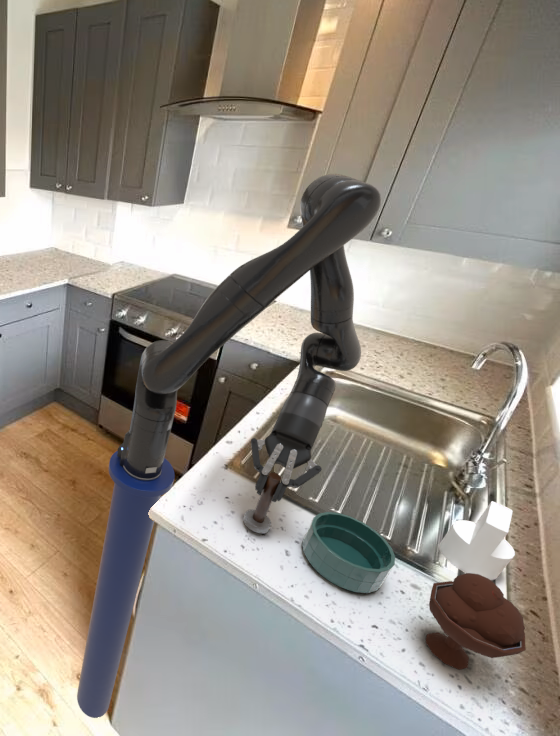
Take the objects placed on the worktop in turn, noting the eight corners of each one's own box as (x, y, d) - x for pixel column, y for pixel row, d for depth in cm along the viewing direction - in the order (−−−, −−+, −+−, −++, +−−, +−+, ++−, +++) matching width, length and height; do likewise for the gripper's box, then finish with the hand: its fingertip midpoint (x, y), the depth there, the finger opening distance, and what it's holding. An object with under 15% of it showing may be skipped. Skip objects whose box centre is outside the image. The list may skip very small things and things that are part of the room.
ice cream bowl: (401, 650, 68) (445, 589, 62) (411, 604, 76) (452, 545, 69) (490, 707, 62) (550, 646, 55) (491, 651, 69) (545, 591, 62)
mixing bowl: (294, 565, 81) (306, 541, 78) (308, 524, 91) (318, 501, 88) (377, 610, 74) (393, 586, 71) (382, 560, 84) (396, 537, 81)
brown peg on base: (240, 524, 88) (258, 476, 83) (247, 510, 92) (265, 463, 86) (265, 537, 86) (285, 489, 80) (271, 523, 89) (291, 475, 84)
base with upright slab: (443, 533, 91) (471, 491, 85) (500, 563, 85) (534, 519, 80) (434, 556, 85) (464, 512, 80) (494, 589, 79) (531, 544, 74)
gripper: (264, 400, 87) (229, 477, 84) (342, 429, 80) (307, 515, 77) (263, 411, 93) (231, 483, 90) (335, 439, 86) (303, 518, 83)
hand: (266, 497), depth 83 cm, fingers closed on brown peg on base
